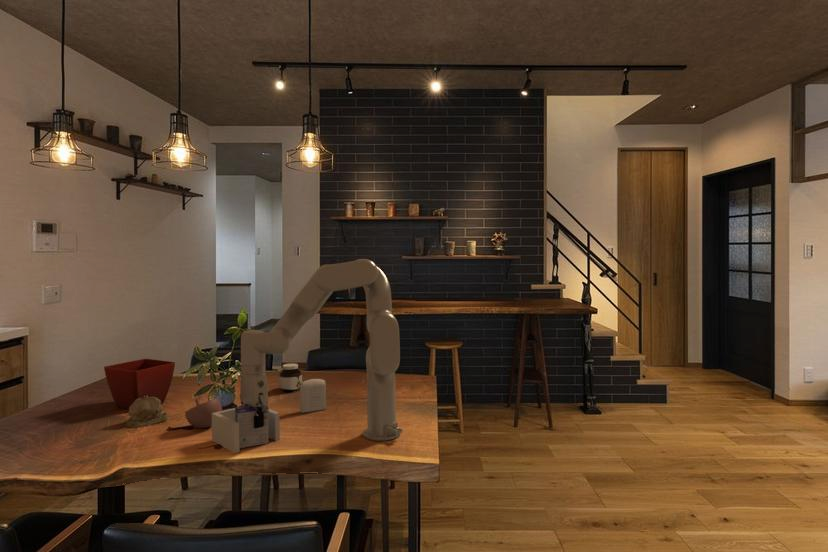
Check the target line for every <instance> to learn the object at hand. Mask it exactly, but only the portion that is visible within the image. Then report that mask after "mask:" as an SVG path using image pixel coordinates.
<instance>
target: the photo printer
mask: <svg viewBox="0 0 828 552" xmlns="http://www.w3.org/2000/svg"><path fill="white" fill-rule="evenodd" d="M326 384H327V383H326V381H325V380H324V379H322V378H311V379H307V380H304V381H302V383H301V385H300V389H299V390H300V395H299V396H300V398H299V400H300V404H299V405H300V406H299V407H300V409H299V410H300V413H302V414H305V412H306V413H310V412H311V413H312V412H317V411H322V410H326V409H327V405H326V404H327V402H326V401H327V398H326V397H327V389H326V388H327V385H326Z"/></svg>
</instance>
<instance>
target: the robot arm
mask: <svg viewBox="0 0 828 552" xmlns="http://www.w3.org/2000/svg"><path fill="white" fill-rule="evenodd" d="M361 287H363V289H364V293H365V302H366V329H367V331H368V333H369V347H368V348H367V350H366V353H365V365H366V366H365V367H366V385H367V387H366V399H367V400H366V403H367V404H366V405H367V408H366V410H367V413H366V414H367V415H366V416H367V420H366V421H367V424H366V425H367V428H365V429H363V431H362V436H363V438H365V439H367V440H370V441H377V442H378V441H380V442H384V441H391V440H394V439H396V438H398V437H400V436H401V433H403V429H402V428H401V427H398V424H399V423H398V422H397V420H396V371H397V370H398V368H399V366H400V361H401V346H400V345H401V344H400V343H401V341H400V338H401V337H400V326H399V322H398V320H397V318H396V317H395V316H394V315H393V303H392V290H391V285H390V282H389V280H388V277H387V276H386V274H385V273H384V271H382V270H381V268H380V267H379V266H377V264H375V262H374V261H372V260H370V259H368V258H359V259H358V258H357V259H356V260H352V261H346V262H338V263H333V264H332V263H331V264H323V265H321V266H320V267H318V269H316V271H315V272H314V273H313V274H312V276H311V277H310V278H309V280H308V281H307V283H305V285H303V287H302V288H301V290H300V291H299V292H298V294H297V295H296V296H295V297H294V298H293V300H292V302H291V303H290V305H289V306H288V307H287V309H286V311H285V312H284V313H283V315H282V316H281V317H280V318H279V320H278V321H277V322H276V324H275V325H274V326H273V327H272V328H271V329H270V330H269V332H265V331H264V330H260V329H249V330H245V331H243V332H241V335H240V376H241V377H240V378H241V379H240V392H239V398H240V404H241V406H245V405H246V404H247V405H250V406H252V407H253V408H254V412H255V416H254V428H255V429H256V428H260V427H263V426H264V414H265V411H266V408H267V406H268V403H269V397H268V394H269V393H268V380H267V375H266V355H276V356H277V355H283V354H284V353H286V352H287V351H288V349H289V348H290V345H291V342H292V341H293V339H294V337H296V335H297V334H298V332H299V331H300V330H301V329H302V328H303V326H304V325H305V324H306V323H307V322H308V321H309V320H311V319H313V317H315V316H316V315H317V314H318V312H319V311H320V309H321V308H322V307H323V306H324V304H325V303H326V301H327V300H328V299H329V298H330V296H331V295H332V294H333V293H334V292H337V291H345V290H350V289H356V288H361ZM259 403H260V405H256V404H259ZM259 407H260V408H259ZM257 408H259V410H257Z"/></svg>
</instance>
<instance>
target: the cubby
mask: <svg viewBox="0 0 828 552" xmlns="http://www.w3.org/2000/svg"><path fill="white" fill-rule="evenodd" d="M280 431H281V430H280V412H278V411H275V410H273V409H270V408H269V419H268V439H270V438H271V439H270V440H272V439H273V440H272V441H274V440H275V442H277V440H278V441H280V440H281V438H280V437H281V436H280V434H281V433H280ZM212 440H213V441H212ZM211 441H212V442H214V441H215V443H216V444H218V445H219V444H220V445H219V446H221V445H222V446H221V447H223V448H225V449H226V448H227V450H228V451H230V452H232V453H233V454H237V453H240V448H239V423H238V422H235V407H233V408H228V409H225V410H222V411H220V412H215V413H212V426H211Z"/></svg>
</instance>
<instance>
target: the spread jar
mask: <svg viewBox="0 0 828 552" xmlns="http://www.w3.org/2000/svg"><path fill="white" fill-rule="evenodd" d="M302 382H303V373H302V371H301V370H300V369H299V364H298V363H285V364H283V365H282V369H281V370H280V372H279V376H278V387H279V389H280V390H281V391H282V392H283V393H295V392H294V391H296V392H298V391H299V390H300V385H301V383H302ZM297 390H298V391H297Z"/></svg>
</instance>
